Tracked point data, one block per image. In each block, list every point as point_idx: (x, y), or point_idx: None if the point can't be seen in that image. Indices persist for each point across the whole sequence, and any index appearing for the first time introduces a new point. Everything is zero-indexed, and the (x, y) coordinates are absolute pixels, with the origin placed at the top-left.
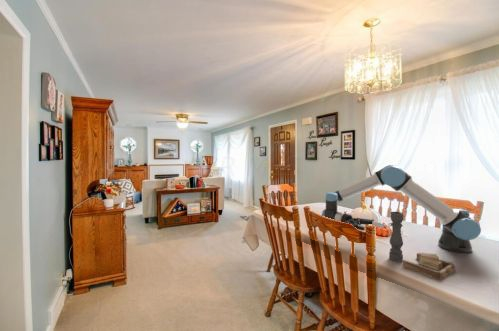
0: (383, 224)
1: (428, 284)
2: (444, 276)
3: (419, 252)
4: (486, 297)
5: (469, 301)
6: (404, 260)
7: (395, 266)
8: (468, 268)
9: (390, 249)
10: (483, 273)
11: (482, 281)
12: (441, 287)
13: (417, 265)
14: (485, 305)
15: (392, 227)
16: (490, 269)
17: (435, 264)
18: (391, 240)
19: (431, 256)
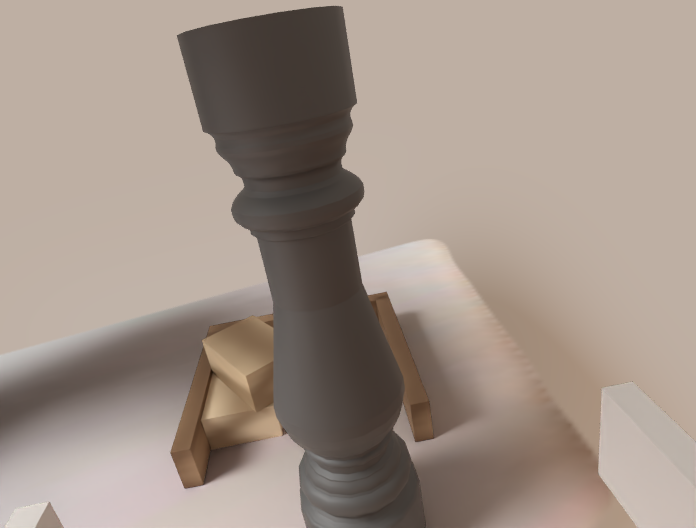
0: (43, 519)
1: (483, 311)
2: None
3: (250, 375)
4: (372, 260)
5: (449, 255)
6: (417, 397)
7: (489, 451)
8: (142, 352)
9: (391, 483)
10: (161, 324)
11: (252, 299)
12: (451, 295)
13: (406, 345)
14: (426, 245)
15: (339, 242)
16: (90, 335)
17: None
18: (393, 374)
19: (265, 329)
